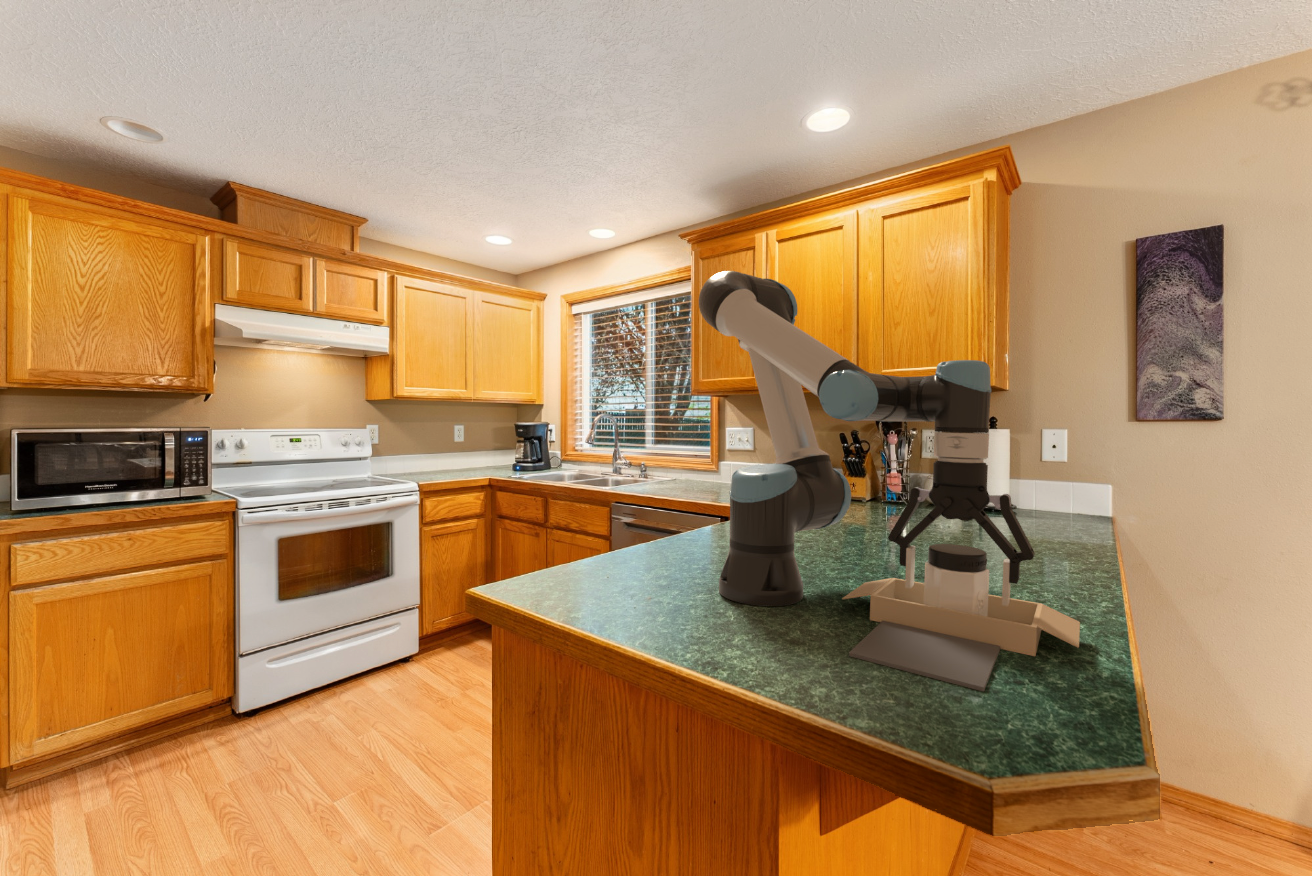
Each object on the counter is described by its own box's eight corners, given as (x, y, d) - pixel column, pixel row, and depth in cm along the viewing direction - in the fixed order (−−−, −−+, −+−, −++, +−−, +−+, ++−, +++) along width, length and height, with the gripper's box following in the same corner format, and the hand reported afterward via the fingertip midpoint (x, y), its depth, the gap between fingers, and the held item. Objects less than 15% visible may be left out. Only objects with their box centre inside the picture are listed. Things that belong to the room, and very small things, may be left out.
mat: (848, 656, 78) (849, 652, 78) (882, 623, 90) (882, 620, 90) (983, 691, 68) (984, 687, 68) (1000, 649, 81) (1000, 646, 81)
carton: (840, 613, 95) (841, 588, 95) (865, 594, 105) (866, 572, 105) (1078, 665, 76) (1079, 635, 76) (1079, 636, 86) (1080, 609, 86)
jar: (965, 638, 85) (968, 558, 84) (914, 622, 91) (916, 547, 91) (996, 627, 90) (998, 551, 89) (945, 612, 96) (947, 541, 96)
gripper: (871, 456, 94) (867, 584, 95) (1056, 466, 79) (1050, 618, 80) (884, 455, 100) (880, 575, 101) (1058, 463, 85) (1052, 605, 86)
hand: (955, 594), depth 90 cm, fingers open, 13 cm apart
